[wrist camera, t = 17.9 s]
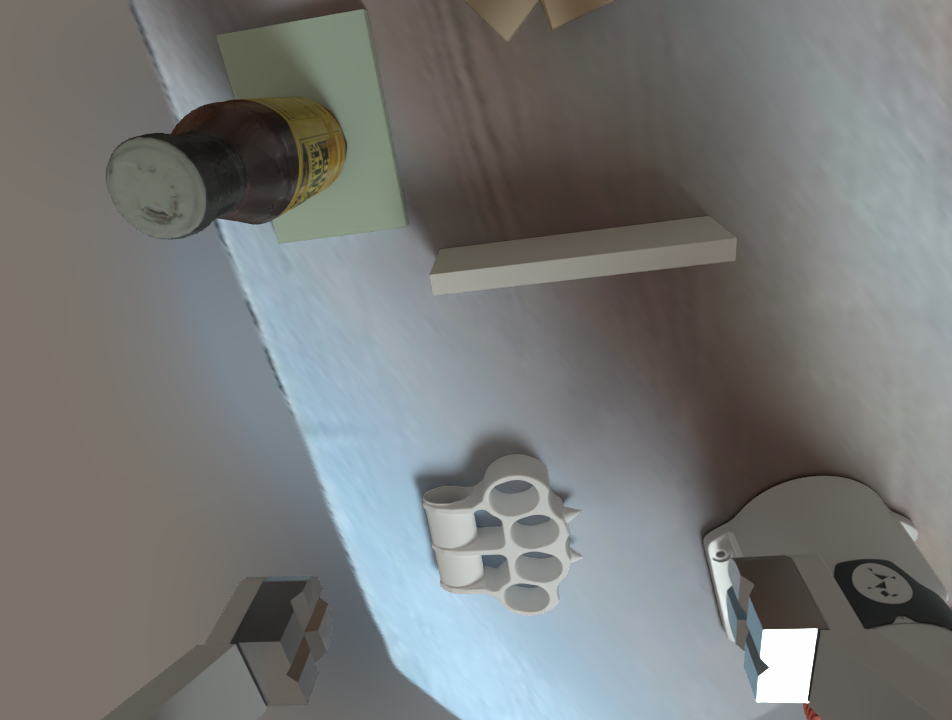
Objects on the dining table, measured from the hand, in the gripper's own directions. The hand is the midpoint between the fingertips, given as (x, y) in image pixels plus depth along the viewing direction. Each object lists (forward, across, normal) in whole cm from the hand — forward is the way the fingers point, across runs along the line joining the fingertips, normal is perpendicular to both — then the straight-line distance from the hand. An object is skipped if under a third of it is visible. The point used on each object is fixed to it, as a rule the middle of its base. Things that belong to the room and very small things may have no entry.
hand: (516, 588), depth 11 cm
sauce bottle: (+34, +15, -7) cm, 37 cm away
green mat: (+35, +14, -7) cm, 38 cm away
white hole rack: (+36, +6, +31) cm, 48 cm away
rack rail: (+35, -3, +3) cm, 35 cm away
